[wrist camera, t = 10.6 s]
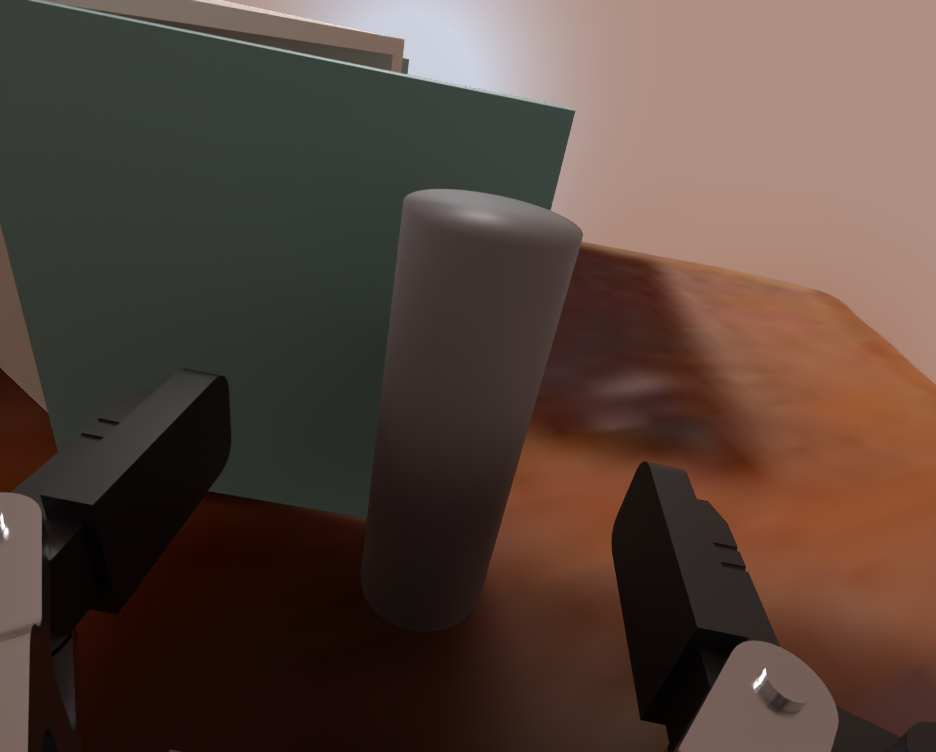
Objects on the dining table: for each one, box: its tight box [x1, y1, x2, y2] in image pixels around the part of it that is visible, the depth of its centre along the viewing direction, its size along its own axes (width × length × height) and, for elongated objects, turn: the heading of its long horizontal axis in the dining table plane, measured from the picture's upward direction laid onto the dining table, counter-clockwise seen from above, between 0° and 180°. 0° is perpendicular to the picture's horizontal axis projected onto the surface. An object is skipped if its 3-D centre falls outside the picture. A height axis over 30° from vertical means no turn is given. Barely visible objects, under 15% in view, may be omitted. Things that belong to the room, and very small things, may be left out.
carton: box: [0, 0, 409, 413], centre depth 25 cm, size 16×15×14 cm
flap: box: [0, 0, 583, 632], centre depth 13 cm, size 6×14×13 cm, turn 87°
